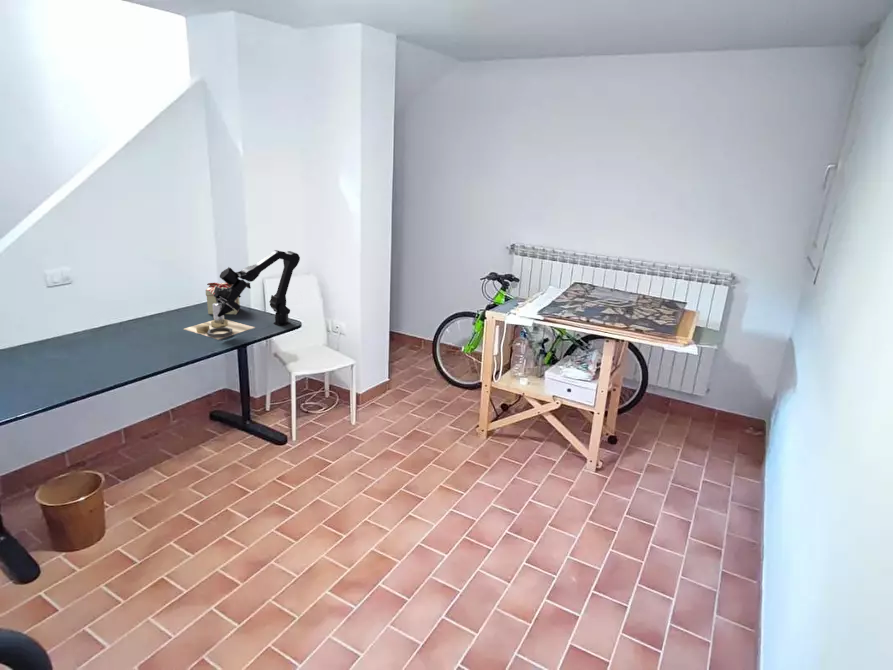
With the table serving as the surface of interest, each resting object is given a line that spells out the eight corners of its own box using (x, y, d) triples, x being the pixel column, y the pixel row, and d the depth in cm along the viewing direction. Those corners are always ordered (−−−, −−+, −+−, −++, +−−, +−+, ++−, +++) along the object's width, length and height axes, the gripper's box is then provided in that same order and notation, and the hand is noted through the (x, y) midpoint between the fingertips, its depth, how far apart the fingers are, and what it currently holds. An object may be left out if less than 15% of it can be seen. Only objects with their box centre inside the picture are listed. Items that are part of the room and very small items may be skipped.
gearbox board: (220, 319, 300) (220, 313, 299) (255, 329, 288) (254, 322, 287) (183, 330, 281) (182, 324, 279) (218, 341, 269) (218, 334, 268)
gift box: (206, 318, 301) (203, 287, 295) (211, 308, 318) (208, 279, 312) (240, 317, 305) (237, 287, 300) (243, 307, 322) (240, 278, 316)
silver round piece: (216, 322, 279) (214, 301, 275) (230, 323, 278) (228, 302, 275) (208, 327, 272) (206, 305, 268) (223, 328, 271) (221, 306, 267)
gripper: (215, 276, 276) (195, 301, 273) (231, 284, 264) (210, 310, 260) (232, 289, 284) (213, 314, 281) (249, 297, 272) (228, 323, 268)
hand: (215, 315), depth 272 cm, fingers closed on silver round piece, 5 cm apart
